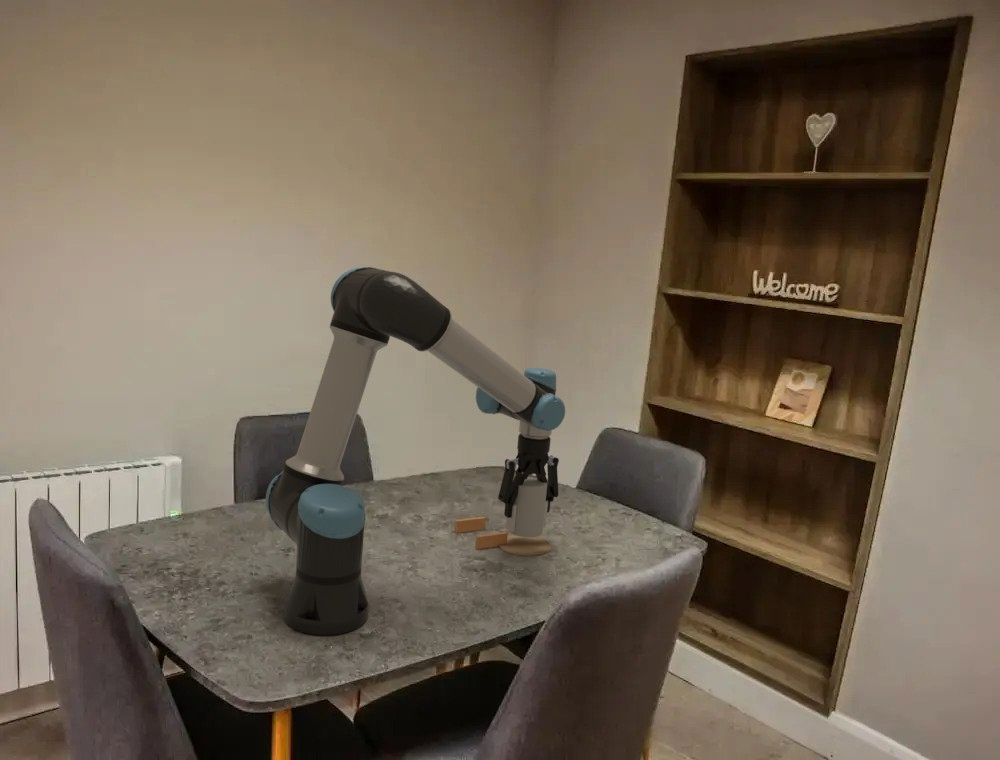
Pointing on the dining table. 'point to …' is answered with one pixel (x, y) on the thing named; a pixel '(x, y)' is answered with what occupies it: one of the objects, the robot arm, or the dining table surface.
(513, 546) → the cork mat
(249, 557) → the dining table surface
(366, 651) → the dining table surface
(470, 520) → the bars
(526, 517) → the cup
